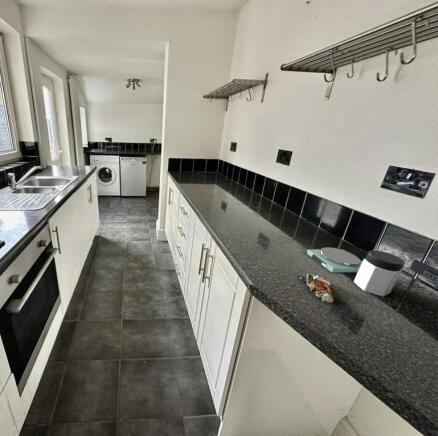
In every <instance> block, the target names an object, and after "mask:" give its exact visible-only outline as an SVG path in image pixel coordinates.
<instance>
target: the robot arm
mask: <svg viewBox="0 0 438 436" xmlns="http://www.w3.org/2000/svg"><path fill="white" fill-rule="evenodd" d="M408 269H409V270H410V271H411V272H414V273H416V274H418V275H420V276H421V277H424V278H425V279H427V280H430V281H431V282H433V283H435V285H434V289H435V290H437V291H438V269H437V268H435V267H433V266H431V265H429V264H427V263H425V262H423V261H420V260H418V259H414V260H412V262H411V264H410V266H409V268H408Z"/></svg>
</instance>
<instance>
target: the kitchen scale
mask: <svg viewBox="0 0 438 436" xmlns="http://www.w3.org/2000/svg"><path fill="white" fill-rule="evenodd" d="M320 250H321V249H309V248H308V249H307V251H306V254H307V255H308V256H309V257H311V258H312V259H313V260H315V261H316V262H317V263H319V264H320V265H321V266H322V267H324V268H325V269H327V270H328V271H329V272H331V273H358V271H359V269H360V267H361V264H362V262H363V260H361V259H360V264H359V265H357V266H347V265H342V264H338V263H335V262H333V261H330V260H328V259H326V258H325V257H323V256H322V255H321V253H320Z"/></svg>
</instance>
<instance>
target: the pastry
mask: <svg viewBox="0 0 438 436" xmlns="http://www.w3.org/2000/svg"><path fill="white" fill-rule="evenodd" d="M303 279H304V277H300V280H303ZM304 282H306V285H307V286H308V287H309V288H310V290H309V291H310V292H312V293H314V294H315V298H317V299H321V301H322V302H325V303H330V304H331V303H332V304H333V302H334V298H333V296H332V294H333V291H332V290H331V288H330V286H331V282H330V281H328V280H327V278H326V277H324V276H319V275H316V274H313V275H312V274H310V273H307V274H306V278H305V279H304Z"/></svg>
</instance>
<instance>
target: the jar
mask: <svg viewBox="0 0 438 436" xmlns="http://www.w3.org/2000/svg"><path fill="white" fill-rule="evenodd" d="M362 261H363V262H362V264H361V267H360V269H359V271H358V272H356V275H355V278H354V280H353V283H354V284H355V285H357V286H358V287H359V288H360V289H361V290H362V291H364V292H367V293H370V294H374V295H377V296H379V297H385V296H387V295H389V294H390V293H391V292H392V290H393V288H394V286H395V285H396V283H397V281H398V280H399V278H400V276H401V273H402V272H403V270H404V269H403V268H404V266H405V264H406V262H405V260H403V259H402V258H401V257H399V256H397V255H395V254H393V253H390V252H386V251H382V250H369V251H368V252H367V254H366V257H365V258H363V260H362Z"/></svg>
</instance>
